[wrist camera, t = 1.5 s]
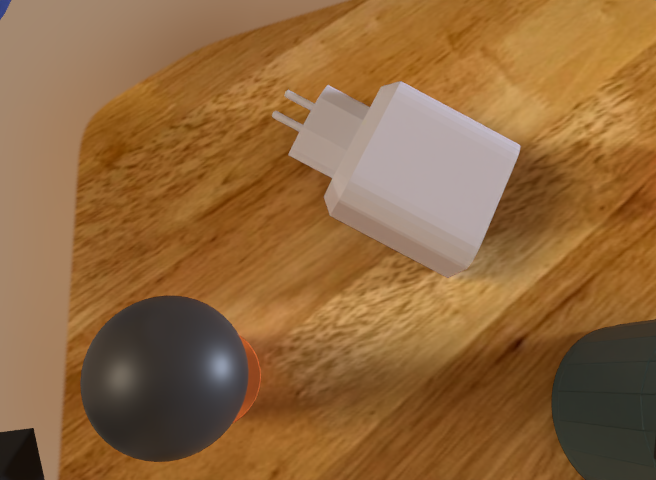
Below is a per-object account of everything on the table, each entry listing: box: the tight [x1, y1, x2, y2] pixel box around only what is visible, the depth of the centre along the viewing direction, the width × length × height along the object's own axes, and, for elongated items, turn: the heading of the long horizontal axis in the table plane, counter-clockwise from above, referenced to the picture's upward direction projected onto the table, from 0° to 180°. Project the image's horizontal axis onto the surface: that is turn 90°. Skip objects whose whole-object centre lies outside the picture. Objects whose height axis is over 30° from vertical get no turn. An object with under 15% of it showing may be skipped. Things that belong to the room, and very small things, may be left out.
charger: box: [272, 81, 520, 278], centre depth 36 cm, size 5×9×15 cm
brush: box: [81, 296, 261, 462], centre depth 21 cm, size 5×5×26 cm
